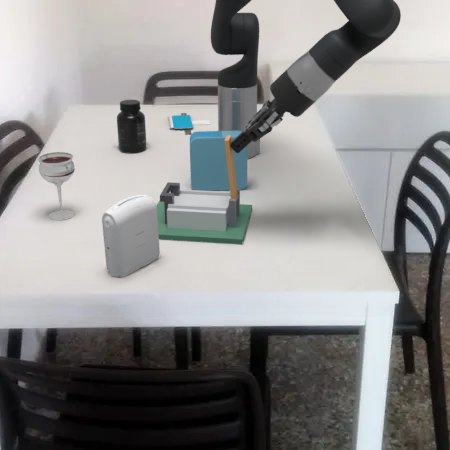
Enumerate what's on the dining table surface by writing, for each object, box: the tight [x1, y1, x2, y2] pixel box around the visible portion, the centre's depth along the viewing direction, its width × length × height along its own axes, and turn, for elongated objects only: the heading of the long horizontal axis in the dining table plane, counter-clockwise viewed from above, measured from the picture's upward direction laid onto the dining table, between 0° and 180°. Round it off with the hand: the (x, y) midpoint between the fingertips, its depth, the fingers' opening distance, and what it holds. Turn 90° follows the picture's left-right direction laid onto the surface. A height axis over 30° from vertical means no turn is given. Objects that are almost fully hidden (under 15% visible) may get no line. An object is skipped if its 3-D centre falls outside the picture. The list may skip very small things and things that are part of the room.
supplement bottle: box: [116, 99, 147, 154], centre depth 178 cm, size 7×7×12 cm
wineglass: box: [37, 151, 76, 221], centre depth 141 cm, size 7×7×12 cm
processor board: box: [156, 182, 253, 245], centre depth 139 cm, size 19×16×7 cm
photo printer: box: [101, 194, 161, 278], centre depth 122 cm, size 10×4×12 cm, turn 140°
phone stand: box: [167, 112, 212, 135], centre depth 200 cm, size 20×12×2 cm, turn 7°
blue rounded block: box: [189, 130, 248, 192], centre depth 155 cm, size 12×4×12 cm, turn 93°
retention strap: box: [225, 135, 239, 203], centre depth 134 cm, size 1×3×13 cm, turn 172°
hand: (233, 148), depth 133 cm, fingers closed
